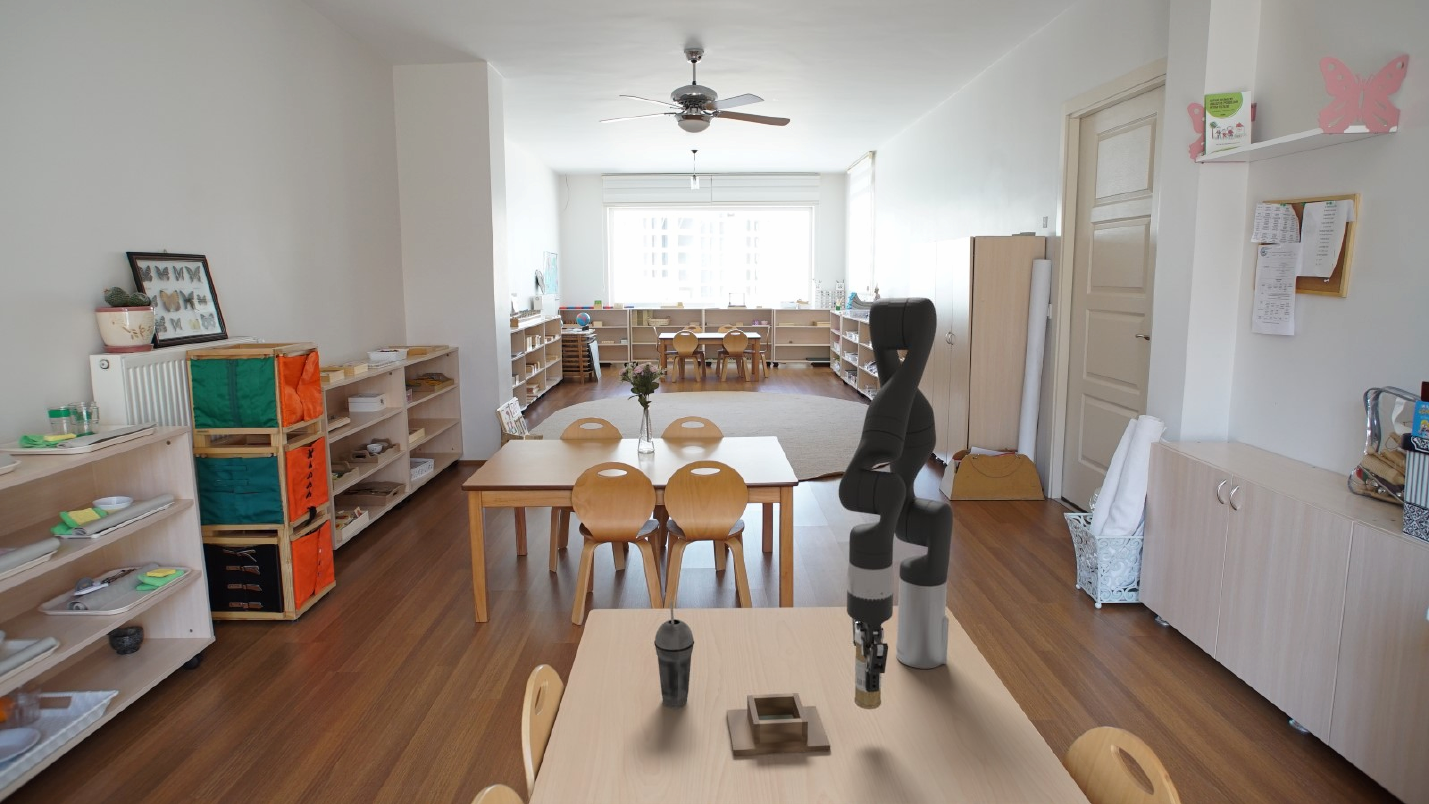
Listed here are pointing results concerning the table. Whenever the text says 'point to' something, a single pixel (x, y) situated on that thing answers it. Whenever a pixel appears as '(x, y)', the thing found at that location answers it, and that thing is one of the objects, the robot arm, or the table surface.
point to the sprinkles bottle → (861, 695)
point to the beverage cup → (674, 660)
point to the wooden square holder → (776, 726)
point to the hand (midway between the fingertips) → (867, 682)
